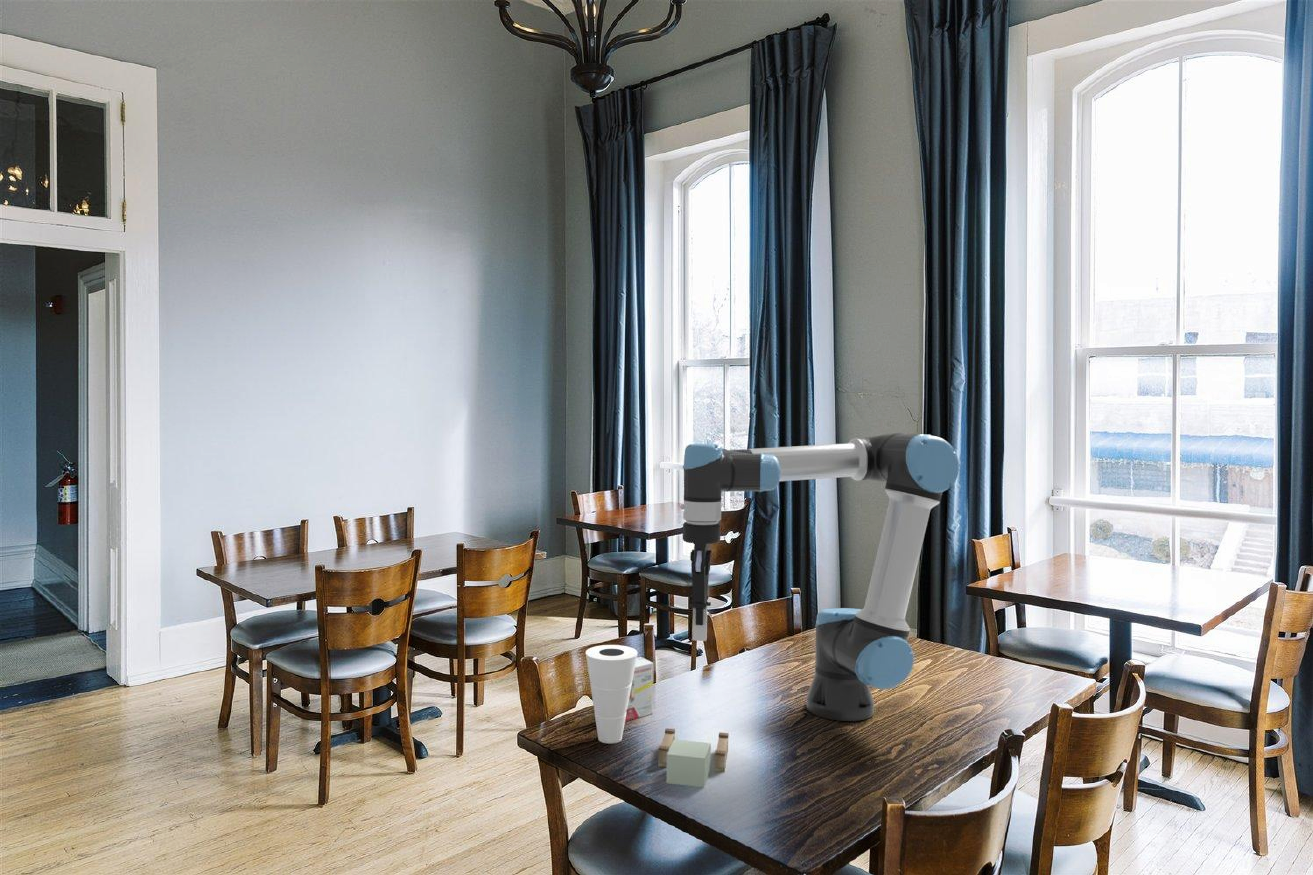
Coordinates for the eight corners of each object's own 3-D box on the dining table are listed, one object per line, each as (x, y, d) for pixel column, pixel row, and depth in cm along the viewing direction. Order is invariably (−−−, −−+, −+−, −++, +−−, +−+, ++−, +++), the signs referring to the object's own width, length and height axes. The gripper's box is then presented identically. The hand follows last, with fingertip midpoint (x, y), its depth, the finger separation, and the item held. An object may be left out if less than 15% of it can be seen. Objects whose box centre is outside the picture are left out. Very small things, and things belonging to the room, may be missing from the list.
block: (710, 771, 159) (710, 743, 159) (704, 788, 152) (704, 758, 152) (673, 767, 160) (674, 739, 160) (666, 783, 154) (666, 754, 153)
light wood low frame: (728, 750, 168) (728, 733, 168) (724, 771, 159) (725, 753, 158) (665, 745, 170) (665, 728, 170) (658, 766, 160) (658, 747, 160)
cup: (577, 732, 176) (578, 647, 175) (624, 725, 180) (626, 642, 179) (593, 752, 166) (595, 662, 165) (643, 744, 170) (645, 656, 170)
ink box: (623, 722, 182) (624, 668, 182) (609, 715, 186) (610, 663, 185) (653, 714, 187) (654, 661, 187) (640, 707, 191) (641, 656, 191)
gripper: (686, 516, 174) (684, 629, 175) (678, 525, 161) (676, 647, 162) (722, 518, 173) (720, 631, 174) (718, 527, 160) (715, 650, 161)
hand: (699, 639), depth 168 cm, fingers closed
